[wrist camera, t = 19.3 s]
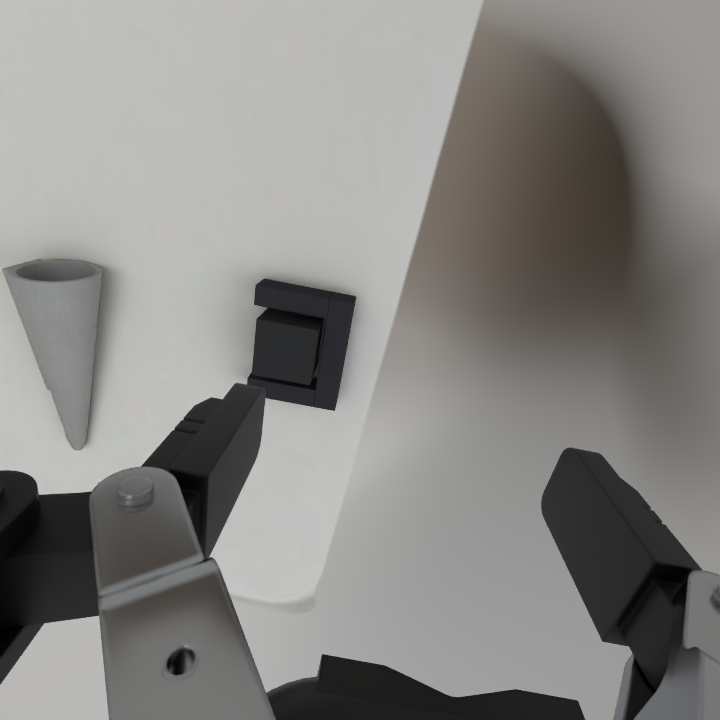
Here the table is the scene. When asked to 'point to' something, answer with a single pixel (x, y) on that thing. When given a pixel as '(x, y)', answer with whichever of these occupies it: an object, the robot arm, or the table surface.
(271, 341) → the matte black cube
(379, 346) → the table surface
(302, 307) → the dark u-shaped bracket
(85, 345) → the long tapered cone
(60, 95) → the table surface
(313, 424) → the table surface
